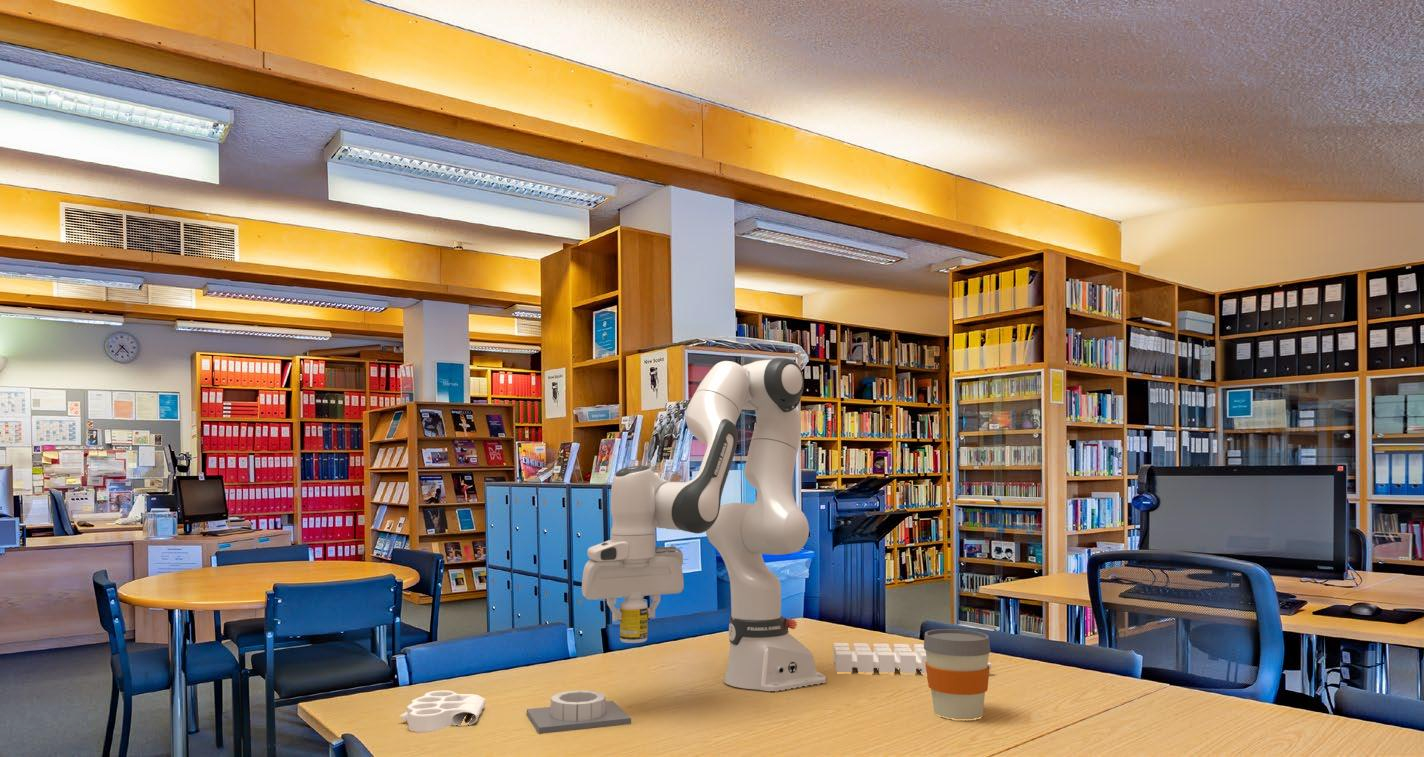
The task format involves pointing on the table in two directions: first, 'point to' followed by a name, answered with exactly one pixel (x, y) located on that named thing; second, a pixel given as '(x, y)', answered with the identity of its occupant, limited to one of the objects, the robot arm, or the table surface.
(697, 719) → the table surface
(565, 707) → the mount plate
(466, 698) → the white multi-hole bracket
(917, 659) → the organizer
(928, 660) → the reusable coffee cup
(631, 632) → the supplement bottle
